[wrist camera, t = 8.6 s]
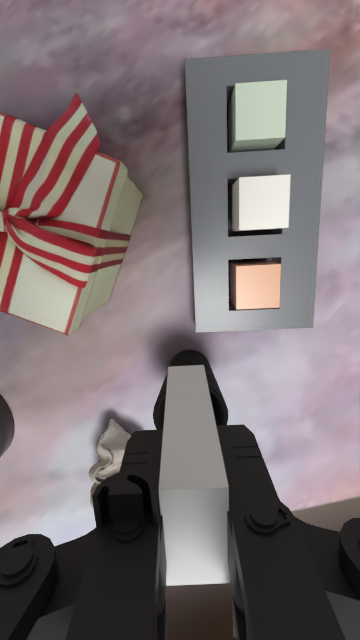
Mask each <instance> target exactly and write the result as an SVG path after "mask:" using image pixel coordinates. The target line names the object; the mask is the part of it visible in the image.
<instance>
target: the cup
mask: <svg viewBox="0 0 360 640" xmlns="http://www.w3.org/2000/svg"><path fill="white" fill-rule="evenodd" d="M192 365H204V368H205V373H206V378H207V383H208V388H209V393H210V398H211V402H212V407H213V412H214V417H215V422H216V426H224V425H227V421H228V409H227V406H226V403H225V401H224V398H223V396H222V394H221V391H220V389H219V386H218V384H217V381H216V379H215V377H214V374H213V372H212V369H211V367H210V365H209V362H208V360H207V359H206V357H205V356H204V355H203V354H202V353H200V352H198V351H194V350H185V351H182V352H180V353H178V354H177V355H176V356H175V357H174V358H173V359H172V361H171V364H170V366H169V367H172V366H192ZM167 376H168V372H167V374H166V377H165V380H164V382H163V385H162V388H161V390H160V393H159V396H158V398H157V401H156V404H155V406H154V412H153V419H154V424H155V426H156V429H157V430H163V427H164V415H165V402H166V389H167Z"/></svg>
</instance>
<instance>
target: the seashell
mask: <svg viewBox="0 0 360 640" xmlns="http://www.w3.org/2000/svg"><path fill="white" fill-rule="evenodd" d="M130 437H131V435H130V434H129V433H127V432H126V431H124V429H123V427H122V426H120V425H119V424H117V423H116V422H115V421H114V419H111V420H110V422H109V424H108V429H107V430H106V431H105V432H104V433H103V434H102V436H101V437H100V439H99V442H98V445H97V447H96V452H97V454H98V455H99V458H100V461H99V462H98V463H96V464H95V465H93V466H92V467H91V469H90V470H89V477H90V479H91V480H92V481H94V482H95V483H94V484H93V486H92V488H91V498H90V502H91V505H92V507H93V501H92V494H93V493H94V491H95V489H96V487H97V486H98V485H99V484H100V483H101V482H102V481H103V480H105V479H106V478H107V477H109V476H112V475H114V474H116V473H118V472H119V471H120V467H121V463H122V459H123V456H124V451H125V447H126V443H127V441H128V439H129V438H130ZM93 508H94V507H93Z"/></svg>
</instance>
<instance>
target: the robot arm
mask: <svg viewBox="0 0 360 640" xmlns="http://www.w3.org/2000/svg"><path fill="white" fill-rule="evenodd" d="M13 434H14V422H13V417H12V414H11V412H10V409H9V407H8V406H7V404H6V403H5V401H4V400H3V399H2V397H1V396H0V457H1V456H2V455H3V453H4V452H5V451H6V450H7V449H8V447H9V446H10V444H11V442H12V439H13ZM92 501H93V507H94V514H95V521H96V528H95V529H94V530H92V531H91V532H89V533H88V534H86V535H84V536H82V537H80V538H77V539H75V540H72V541H69V542H66V543H63V544H60V545H57V546H55V547H54V545H53V543H52V542H51V540H50V538H48V537H46V536H43V535H41V534H28V535H25V536H22V537H19V538H16V539H14V540H12V541H11V542H9V543H7V544H6V545H4V546H3V547H1V548H0V640H166V628H167V611H166V599H165V597H166V596H165V594H166V586H170V585H192V584H215V583H230V579H231V585H232V591H233V637H237V640H360V518H352V519H351V520H349V521H347V522H346V523H344V525H343V527H342V529H341V532H337V531H332V530H329V529H324V528H320V527H316V526H313V525H310V524H307V523H305V522H303V521H301V520H299V519H297V518H296V517H295V516H293V514H292V513H291V511H290V510H289V508H288V507H286V506H285V505H284V504H283V503H282V502H280V500H279V498H278V495H277V493H276V490H275V488H274V485H273V483H272V480H271V477H270V475H269V472H268V470H267V467H266V465H265V462H264V459H263V458H262V454H261V452H260V449H259V448H258V444H257V441H256V439H255V436H254V434H253V433H252V432H251V431H250V430H249V429H248V428H247V427H246V426H245V425H224V426H216V422H215V417H214V412H213V407H212V402H211V398H210V393H209V388H208V383H207V378H206V373H205V368H204V365H192V366H172V367H168V376H167V389H166V402H165V415H164V427H163V430H143V431H135V432H134V434H133V435H132V436H131V437H130V438H129V439H128V441H127V443H126V447H125V451H124V456H123V459H122V463H121V467H120V471H119V472H118V473H116V474H114V475H112V476H109V477H107V478H106V479H105V480H103V481H102V482H101V483H100V484H99V485H98V486H97V487H96V489H95V491H94V493H93V494H92Z"/></svg>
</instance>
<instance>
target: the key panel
mask: <svg viewBox="0 0 360 640" xmlns="http://www.w3.org/2000/svg"><path fill="white" fill-rule="evenodd" d="M329 63H330V49H319V50H306V51H292V52H279V53H265V54H252V55H238V56H225V57H211V58H198V59H185V84H186V109H187V134H188V159H189V184H190V209H191V233H192V258H193V283H194V308H195V328H196V332H219V331H243V330H266V329H290V328H313V317H314V301H315V285H316V269H317V253H318V237H319V222H320V206H321V190H322V174H323V158H324V142H325V127H326V111H327V95H328V79H329ZM277 80H287V99H286V129H285V138H284V139H283V140H282V141H281V142H280V143H279V144H278V145H277V146H276V147H275V150H265V151H249V152H233V153H227V103H229V102H230V99H231V96H232V93H233V90H234V86H235V83H248V82H262V81H277ZM289 174H291V176H290V202H289V228H280V229H273V234H272V235H253V236H234V237H228V188H227V185H232V184H234V183H235V182H236V181H237V179H238V178H239V177H256V176H272V175H289ZM253 258H272V262H275V263H279V264H281V279H280V308H259V309H237V310H236V308H235V307H234V305H233V304H229V282H228V260H233V259H253Z"/></svg>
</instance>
